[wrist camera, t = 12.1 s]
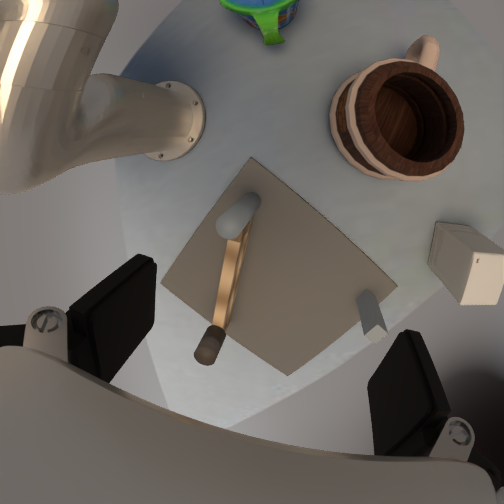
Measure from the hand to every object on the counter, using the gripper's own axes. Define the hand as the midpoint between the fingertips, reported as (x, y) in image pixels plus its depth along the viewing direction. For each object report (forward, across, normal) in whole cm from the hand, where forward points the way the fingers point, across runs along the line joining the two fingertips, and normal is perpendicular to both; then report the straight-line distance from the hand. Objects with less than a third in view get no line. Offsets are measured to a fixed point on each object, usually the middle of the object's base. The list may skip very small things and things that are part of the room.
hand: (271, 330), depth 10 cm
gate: (+31, +6, +15) cm, 35 cm away
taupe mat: (+32, 0, +16) cm, 36 cm away
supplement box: (+32, -26, +1) cm, 42 cm away
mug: (+33, -9, -15) cm, 37 cm away
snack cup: (+32, +10, -26) cm, 43 cm away
